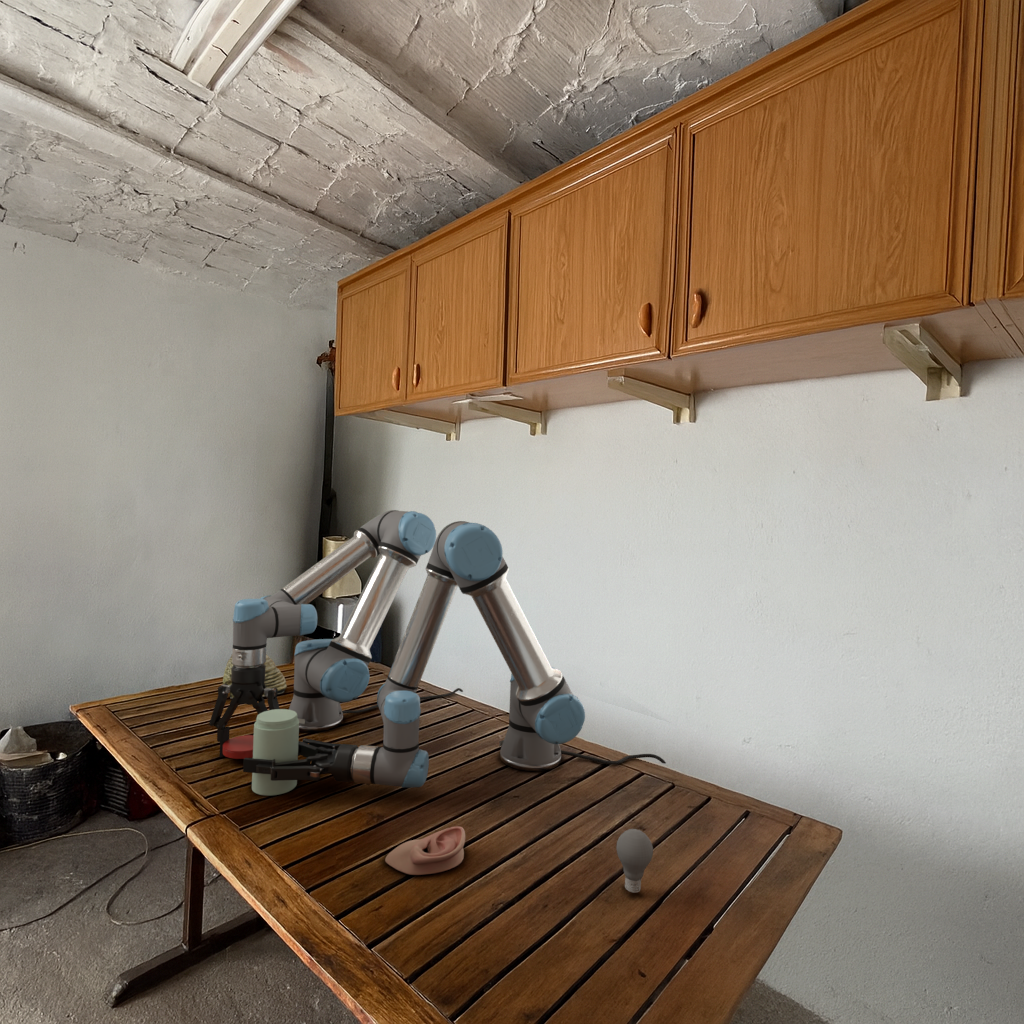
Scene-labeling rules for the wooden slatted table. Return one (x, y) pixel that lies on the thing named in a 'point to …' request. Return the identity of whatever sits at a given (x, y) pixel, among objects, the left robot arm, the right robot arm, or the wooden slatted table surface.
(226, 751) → the lid
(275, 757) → the jar
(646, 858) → the light bulb
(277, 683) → the fossil
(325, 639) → the left robot arm
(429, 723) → the wooden slatted table surface
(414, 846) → the anatomical model
